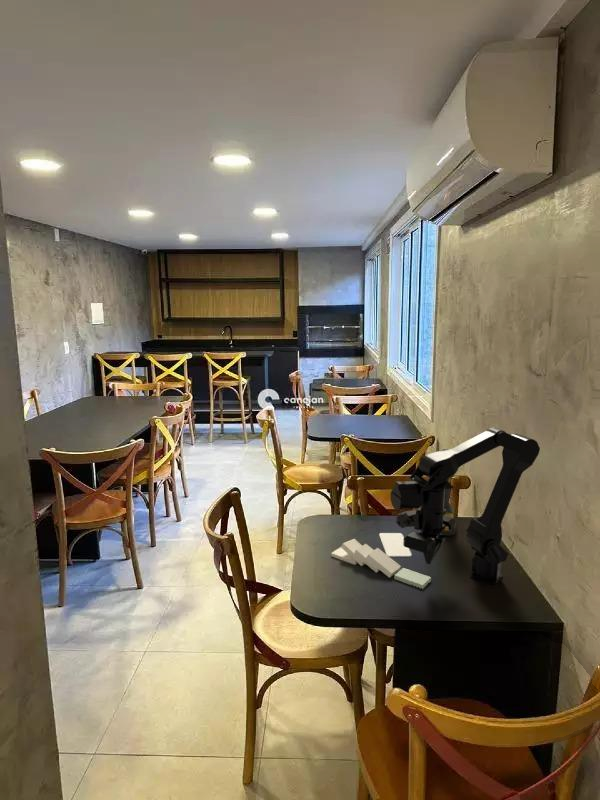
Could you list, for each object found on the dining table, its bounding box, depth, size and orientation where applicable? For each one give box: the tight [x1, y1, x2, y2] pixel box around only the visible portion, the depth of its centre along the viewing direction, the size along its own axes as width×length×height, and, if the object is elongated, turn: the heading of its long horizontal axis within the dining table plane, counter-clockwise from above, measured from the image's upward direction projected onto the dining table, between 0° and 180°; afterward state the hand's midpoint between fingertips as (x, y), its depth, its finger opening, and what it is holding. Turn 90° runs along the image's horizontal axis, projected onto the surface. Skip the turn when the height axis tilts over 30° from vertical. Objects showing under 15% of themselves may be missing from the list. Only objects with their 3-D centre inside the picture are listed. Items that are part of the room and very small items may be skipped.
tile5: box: [331, 546, 358, 565], centre depth 152 cm, size 2×5×8 cm
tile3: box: [354, 543, 381, 573], centre depth 147 cm, size 2×5×8 cm
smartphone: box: [378, 532, 413, 558], centre depth 160 cm, size 7×1×15 cm
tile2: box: [366, 547, 402, 578], centre depth 144 cm, size 2×5×8 cm
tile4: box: [340, 538, 366, 567], centre depth 150 cm, size 2×5×8 cm
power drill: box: [440, 448, 459, 537], centre depth 168 cm, size 20×9×25 cm, turn 168°
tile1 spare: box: [393, 567, 432, 590], centre depth 139 cm, size 2×5×8 cm
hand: (428, 563), depth 136 cm, fingers closed
